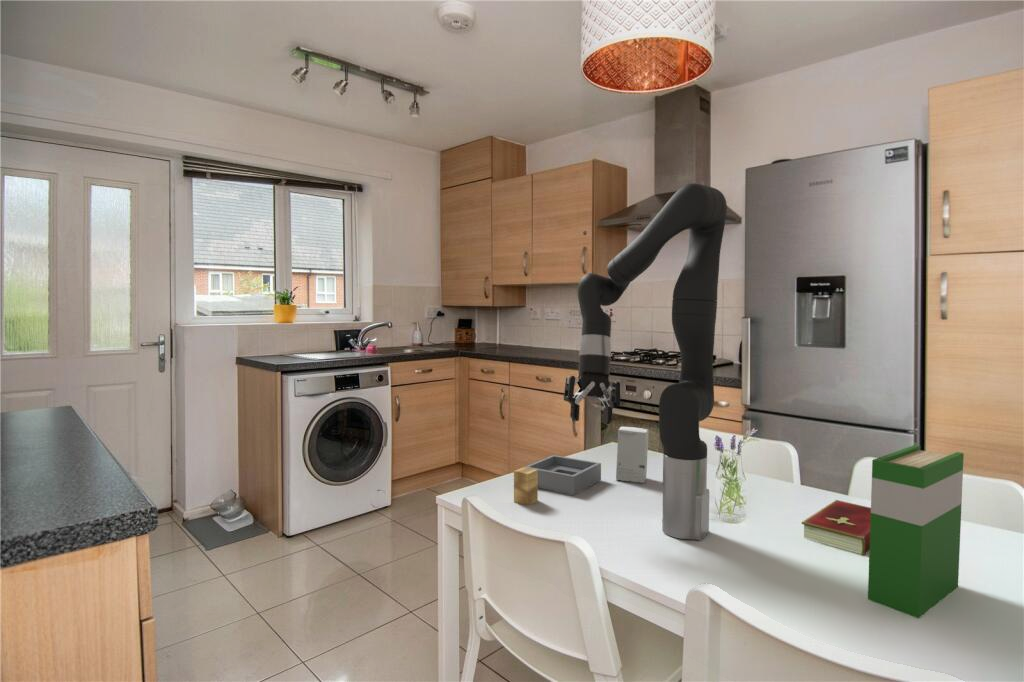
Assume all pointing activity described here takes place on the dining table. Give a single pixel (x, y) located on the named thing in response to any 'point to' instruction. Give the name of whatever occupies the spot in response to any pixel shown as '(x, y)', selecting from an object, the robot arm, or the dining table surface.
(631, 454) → the skincare box
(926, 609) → the hardback book
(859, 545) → the hardcover book
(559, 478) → the walled box
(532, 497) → the block
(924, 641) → the dining table surface
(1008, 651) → the dining table surface
